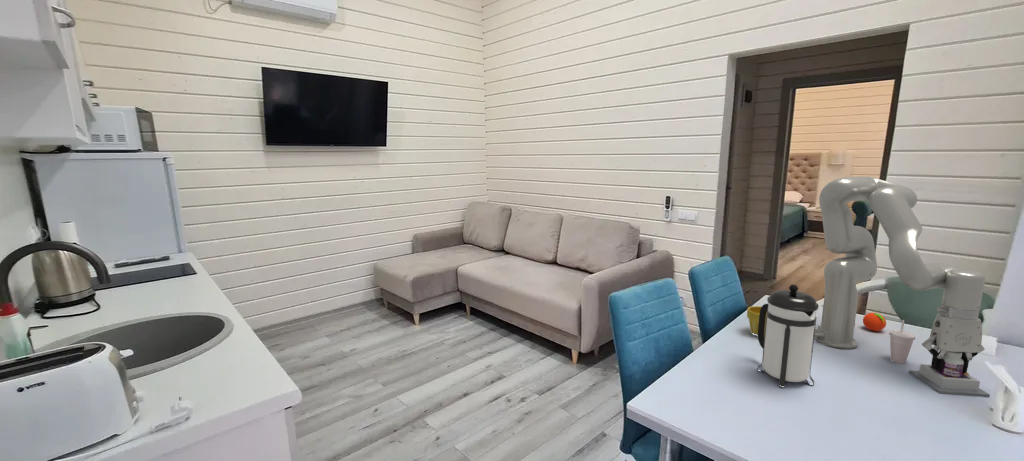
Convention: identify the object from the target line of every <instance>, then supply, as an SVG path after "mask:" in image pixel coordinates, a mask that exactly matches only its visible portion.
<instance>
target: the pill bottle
mask: <svg viewBox="0 0 1024 461" xmlns="http://www.w3.org/2000/svg"><path fill="white" fill-rule="evenodd" d="M961 357H962V352H949V351H946V353H945V354H944V356H943V357H942V359H944V365H943V370H942V372H939V371H937V370H936V369H935V371H936V372H938V373H939V374H941V375H943V376H944V377H951V378H961V375H962V370H963V365H964V361H963V360H962V359H961Z"/></svg>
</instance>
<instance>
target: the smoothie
mask: <svg viewBox="0 0 1024 461" xmlns="http://www.w3.org/2000/svg"><path fill="white" fill-rule="evenodd" d="M904 325H905V320H904V319H902V320H901V325H900V326H901V327H900V329H891V330H889V333H888V334H889V336H890V337H889V339H890V340H889V342H890V344H889V345H890V361H892V362H894V363H897V364H902V365H903V364H907V360H908V358H909V355H910V351H911V349H912V345H913V343H914V341H915V340H916V335H915V334H913V333H911V332H910V331H909V332H908V331H905V330H904V328H905V327H904Z"/></svg>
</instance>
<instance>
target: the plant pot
mask: <svg viewBox="0 0 1024 461" xmlns="http://www.w3.org/2000/svg"><path fill="white" fill-rule="evenodd" d="M761 307H762V305H761V306H759V305H757V306H755V305H752V306H749V307H748V308H747V310H746V312H747V314H746V315H747V316H746V317H747V319H748V321H749V327H750V333H751V332H752V333H754V334H757V335H758V324H759V314H760V309H761ZM766 316H767V312H766ZM765 326H766V319H765ZM752 333H751V334H752ZM764 336H765V330H764Z"/></svg>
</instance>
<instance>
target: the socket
mask: <svg viewBox="0 0 1024 461" xmlns="http://www.w3.org/2000/svg"><path fill="white" fill-rule="evenodd" d="M908 373H909V374H910V375H911V376H913V377H914V378H916V379H918V380H919V381H920V382H922V383H923V384H924V385H927V386H928V387H930V388H931V389H932V390H934V391H935V392H937V393H938V394H942V395H952V396H953V395H954V396H955V395H956V396H966V397H980V396H985V397H984V398H990V396H991V394H990V393H988V392H986V391H984V390H983V389H981V388H980V385H981V384H980V383H981V381H980V380H979V379H977V378H975V377H973V376H972V375H970V373H968V372H967V373H963V372H962V375H961V378H951V377H944V376H943V375H941V374H939V373H938V372H936V371H935V369H934V368H932V366H931V364H924V363H920V365H919V370H912V369H909V370H908Z"/></svg>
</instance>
